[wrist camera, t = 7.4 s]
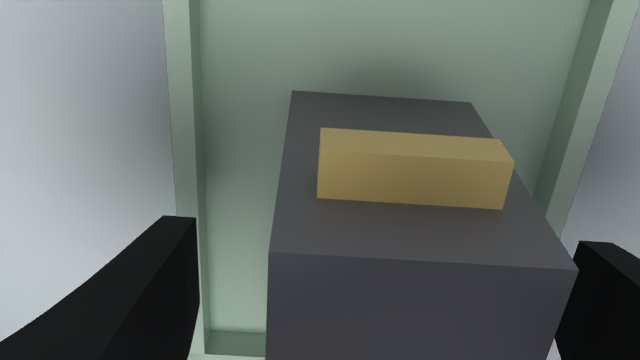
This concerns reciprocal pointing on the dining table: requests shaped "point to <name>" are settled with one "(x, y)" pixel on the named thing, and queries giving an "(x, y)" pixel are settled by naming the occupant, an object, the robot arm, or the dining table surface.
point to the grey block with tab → (407, 238)
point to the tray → (374, 80)
